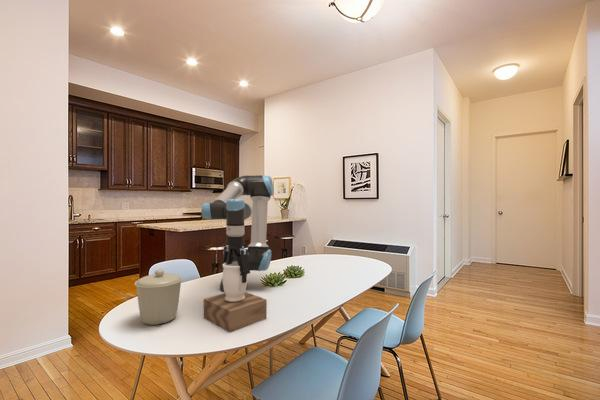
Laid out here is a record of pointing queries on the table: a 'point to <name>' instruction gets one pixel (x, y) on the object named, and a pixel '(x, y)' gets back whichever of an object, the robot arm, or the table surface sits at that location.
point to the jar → (232, 282)
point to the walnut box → (235, 311)
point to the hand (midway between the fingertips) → (235, 287)
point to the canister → (158, 297)
